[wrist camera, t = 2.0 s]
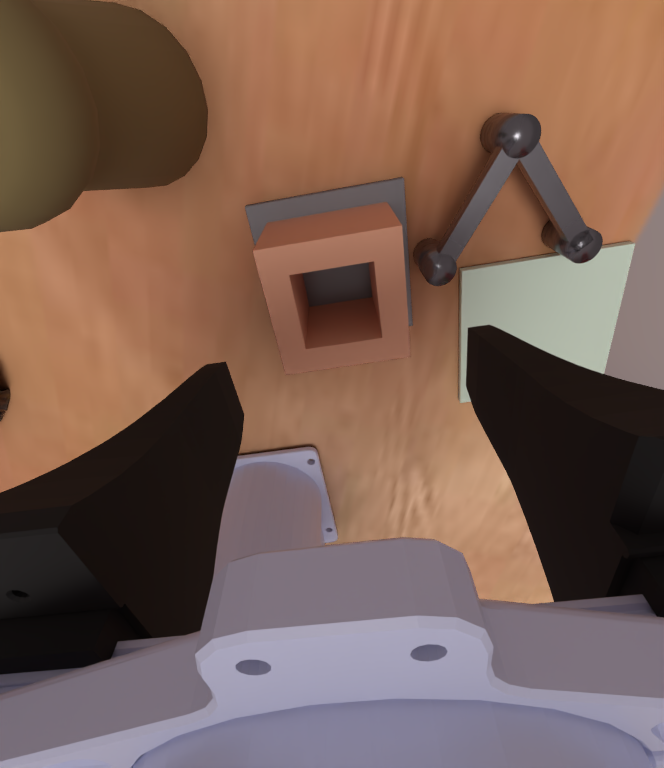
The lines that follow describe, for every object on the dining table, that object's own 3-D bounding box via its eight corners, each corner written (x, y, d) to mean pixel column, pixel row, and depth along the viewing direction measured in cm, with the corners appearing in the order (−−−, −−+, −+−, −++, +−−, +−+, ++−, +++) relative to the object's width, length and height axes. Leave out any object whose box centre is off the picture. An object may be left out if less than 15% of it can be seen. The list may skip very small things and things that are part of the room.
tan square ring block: (396, 313, 21) (410, 357, 17) (292, 329, 22) (285, 375, 18) (386, 201, 18) (402, 225, 15) (267, 222, 19) (252, 250, 15)
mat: (411, 322, 22) (412, 325, 22) (281, 341, 22) (281, 345, 22) (402, 177, 18) (403, 178, 18) (246, 205, 19) (244, 206, 18)
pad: (597, 380, 24) (601, 383, 24) (458, 398, 25) (460, 402, 24) (630, 240, 20) (635, 243, 19) (459, 268, 20) (461, 271, 20)
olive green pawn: (135, 215, 19) (-46, 318, 10) (15, 75, 16) (-407, 32, 7) (239, 131, 17) (137, 159, 8) (124, -43, 14) (-245, -319, 5)
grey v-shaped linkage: (570, 244, 20) (599, 260, 18) (414, 269, 20) (424, 288, 18) (593, 95, 16) (632, 93, 14) (406, 130, 17) (418, 134, 15)
